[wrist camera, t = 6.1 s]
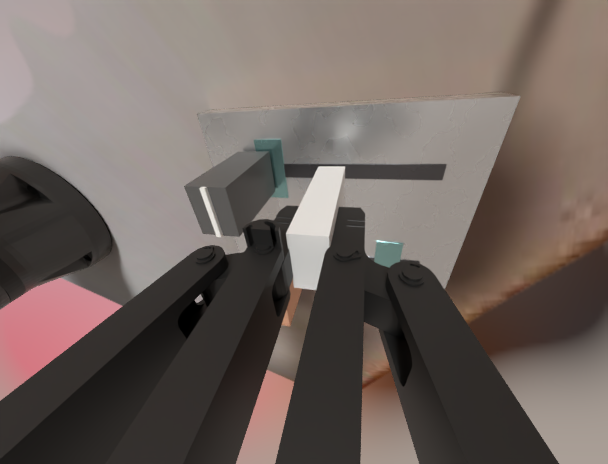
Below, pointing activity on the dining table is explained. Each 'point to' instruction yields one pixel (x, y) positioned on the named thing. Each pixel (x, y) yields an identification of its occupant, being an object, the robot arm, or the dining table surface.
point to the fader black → (232, 193)
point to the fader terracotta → (291, 304)
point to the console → (379, 164)
